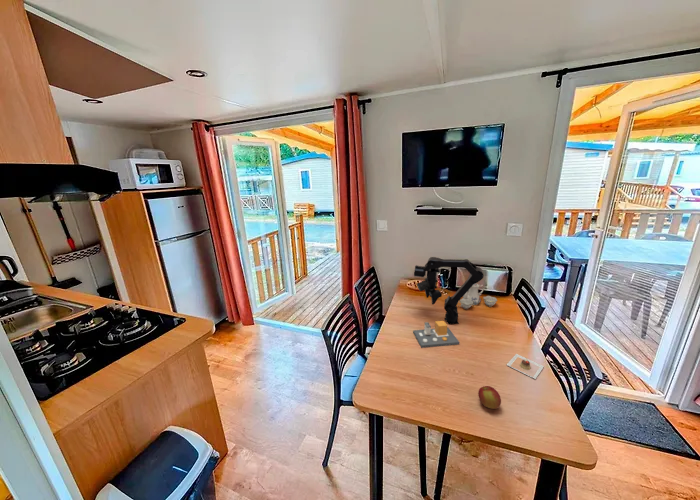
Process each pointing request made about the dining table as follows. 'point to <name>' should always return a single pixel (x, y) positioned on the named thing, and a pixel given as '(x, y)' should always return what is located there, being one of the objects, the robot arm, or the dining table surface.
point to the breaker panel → (435, 338)
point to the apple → (489, 397)
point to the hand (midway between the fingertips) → (430, 300)
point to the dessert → (526, 365)
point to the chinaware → (475, 298)
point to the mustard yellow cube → (441, 328)
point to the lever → (427, 328)
